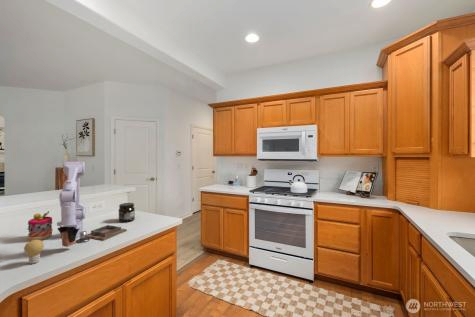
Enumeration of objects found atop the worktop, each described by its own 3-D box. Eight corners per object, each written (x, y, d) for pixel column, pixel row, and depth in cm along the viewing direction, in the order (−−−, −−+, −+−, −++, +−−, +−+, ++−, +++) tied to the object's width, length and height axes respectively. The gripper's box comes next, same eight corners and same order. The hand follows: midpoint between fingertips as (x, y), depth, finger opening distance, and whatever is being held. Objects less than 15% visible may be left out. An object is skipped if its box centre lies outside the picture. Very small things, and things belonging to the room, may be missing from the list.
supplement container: (120, 219, 160) (120, 203, 159) (135, 217, 163) (135, 202, 163) (117, 223, 150) (116, 206, 149) (133, 222, 153) (133, 205, 152)
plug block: (62, 245, 108) (61, 232, 108) (70, 242, 112) (70, 229, 112) (67, 246, 107) (67, 233, 107) (75, 243, 111) (75, 230, 111)
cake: (25, 243, 117) (25, 215, 116) (30, 236, 126) (30, 211, 125) (50, 239, 122) (50, 212, 122) (54, 233, 131) (53, 208, 131)
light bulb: (47, 258, 100) (47, 237, 100) (35, 266, 93) (34, 243, 93) (33, 258, 100) (33, 237, 99) (20, 266, 93) (19, 243, 93)
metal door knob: (73, 242, 118) (73, 233, 118) (84, 238, 124) (84, 229, 124) (81, 243, 116) (81, 234, 116) (92, 239, 122) (92, 230, 122)
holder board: (84, 237, 125) (84, 232, 125) (108, 228, 141) (108, 223, 141) (103, 240, 121) (103, 235, 121) (126, 230, 136) (126, 226, 136)
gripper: (50, 215, 108) (50, 241, 108) (70, 218, 103) (70, 246, 103) (65, 211, 114) (65, 236, 115) (84, 214, 110) (85, 240, 110)
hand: (69, 240), depth 109 cm, fingers closed on plug block, 4 cm apart
